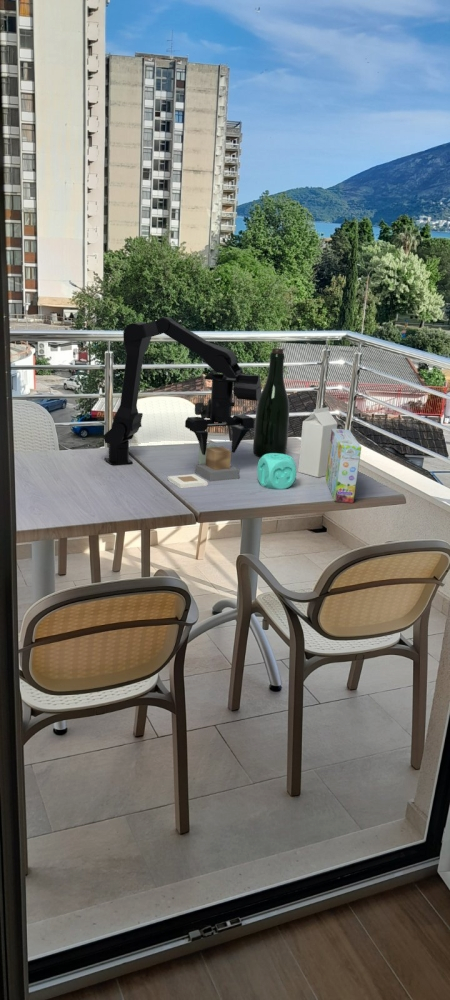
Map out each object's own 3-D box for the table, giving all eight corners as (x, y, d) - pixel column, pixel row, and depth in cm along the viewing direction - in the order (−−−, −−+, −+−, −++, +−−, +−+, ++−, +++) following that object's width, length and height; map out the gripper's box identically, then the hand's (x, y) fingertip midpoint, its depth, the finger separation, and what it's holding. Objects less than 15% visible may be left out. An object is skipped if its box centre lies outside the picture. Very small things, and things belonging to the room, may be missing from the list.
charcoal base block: (195, 474, 210) (195, 464, 209) (223, 472, 214) (223, 461, 213) (210, 483, 202) (210, 472, 201) (238, 480, 207) (239, 470, 206)
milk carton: (332, 474, 217) (339, 409, 211) (317, 478, 212) (324, 411, 206) (312, 468, 221) (318, 405, 216) (297, 472, 216) (303, 407, 211)
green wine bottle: (264, 449, 241) (272, 345, 231) (292, 455, 235) (301, 349, 225) (246, 455, 233) (253, 347, 223) (274, 461, 227) (283, 351, 217)
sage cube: (198, 462, 221) (199, 446, 219) (213, 461, 223) (214, 445, 222) (206, 467, 217) (206, 450, 215) (221, 465, 219) (222, 449, 217)
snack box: (355, 504, 191) (362, 446, 186) (333, 502, 191) (340, 444, 186) (344, 481, 211) (350, 428, 206) (324, 479, 211) (329, 427, 206)
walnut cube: (214, 469, 204) (215, 452, 203) (205, 465, 208) (206, 447, 207) (230, 468, 207) (231, 450, 205) (221, 464, 211) (222, 446, 209)
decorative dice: (255, 482, 204) (257, 453, 202) (282, 480, 207) (284, 452, 205) (268, 490, 197) (270, 461, 195) (295, 488, 200) (297, 459, 198)
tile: (167, 479, 201) (167, 475, 201) (194, 477, 205) (194, 473, 204) (180, 488, 194) (180, 484, 194) (207, 485, 198) (207, 481, 198)
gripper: (237, 391, 213) (233, 444, 217) (177, 393, 204) (175, 448, 208) (257, 398, 203) (253, 454, 208) (195, 400, 195) (192, 458, 199)
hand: (218, 453), depth 206 cm, fingers open, 9 cm apart
